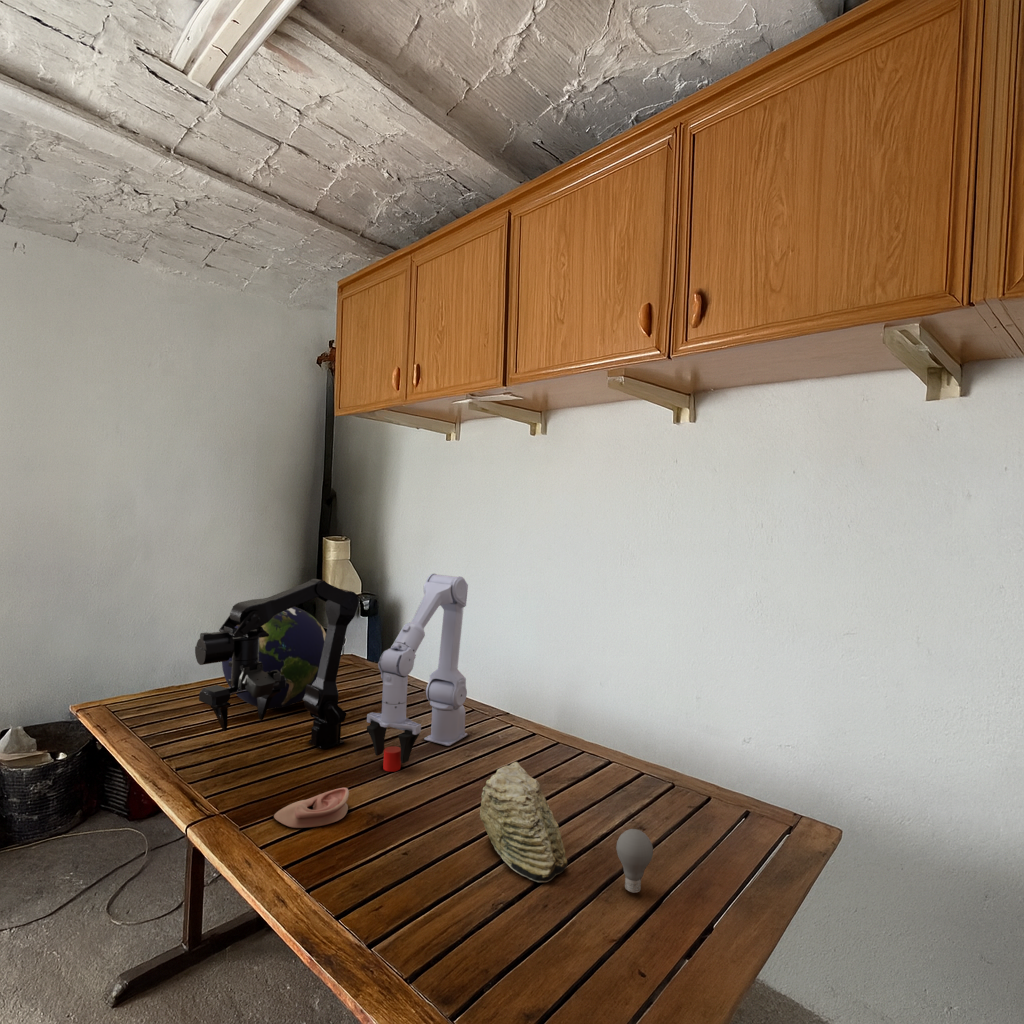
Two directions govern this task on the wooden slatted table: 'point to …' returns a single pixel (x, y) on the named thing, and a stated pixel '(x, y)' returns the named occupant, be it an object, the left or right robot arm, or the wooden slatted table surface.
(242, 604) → the left robot arm
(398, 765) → the red cylinder
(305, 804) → the anatomical model
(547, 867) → the fossil
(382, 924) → the wooden slatted table surface
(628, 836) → the light bulb
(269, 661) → the globe
